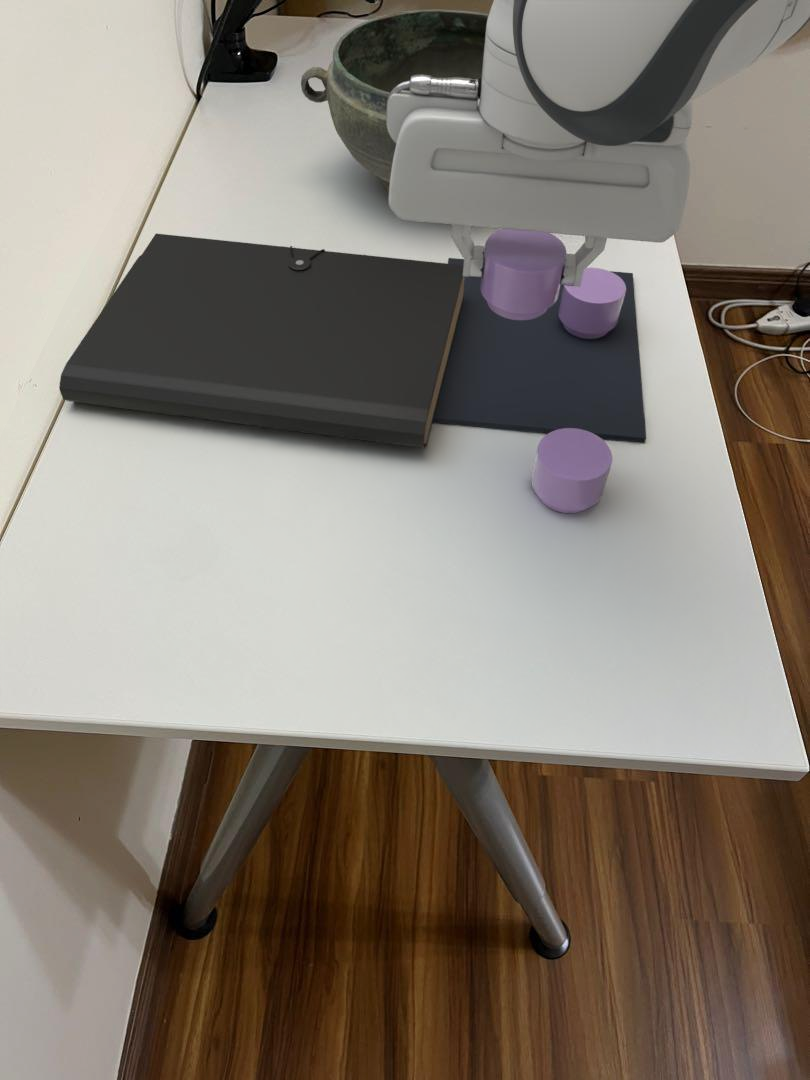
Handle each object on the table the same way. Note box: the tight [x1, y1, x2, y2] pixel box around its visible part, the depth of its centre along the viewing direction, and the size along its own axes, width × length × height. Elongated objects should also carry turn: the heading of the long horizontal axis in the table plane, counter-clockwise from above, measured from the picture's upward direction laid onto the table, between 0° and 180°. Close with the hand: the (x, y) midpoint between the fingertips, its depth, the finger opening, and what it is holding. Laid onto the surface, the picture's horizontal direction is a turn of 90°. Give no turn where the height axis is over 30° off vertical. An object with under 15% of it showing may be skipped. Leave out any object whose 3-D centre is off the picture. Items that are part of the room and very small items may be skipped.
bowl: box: [300, 8, 489, 193], centre depth 99 cm, size 32×26×15 cm
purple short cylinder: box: [531, 428, 613, 514], centre depth 70 cm, size 6×6×5 cm
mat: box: [432, 257, 647, 443], centre depth 84 cm, size 20×26×1 cm
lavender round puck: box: [558, 267, 626, 339], centre depth 84 cm, size 6×6×5 cm
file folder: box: [59, 233, 465, 449], centre depth 81 cm, size 33×4×24 cm
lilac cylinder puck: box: [480, 229, 568, 320], centre depth 64 cm, size 6×6×5 cm
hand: (521, 277), depth 64 cm, fingers closed on lilac cylinder puck, 6 cm apart
